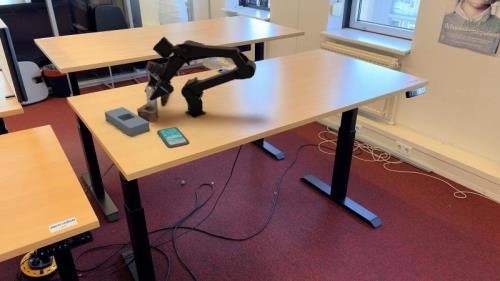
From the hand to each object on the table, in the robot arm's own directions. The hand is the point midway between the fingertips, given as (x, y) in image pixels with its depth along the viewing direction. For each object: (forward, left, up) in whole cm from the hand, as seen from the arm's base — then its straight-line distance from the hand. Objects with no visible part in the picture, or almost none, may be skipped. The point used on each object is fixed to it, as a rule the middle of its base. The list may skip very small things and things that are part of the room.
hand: (147, 96), depth 153 cm
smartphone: (-21, +4, -10) cm, 24 cm away
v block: (0, +1, -9) cm, 10 cm away
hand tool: (+13, -17, -10) cm, 24 cm away
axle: (-1, -1, -9) cm, 10 cm away
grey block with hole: (0, +11, -9) cm, 14 cm away
